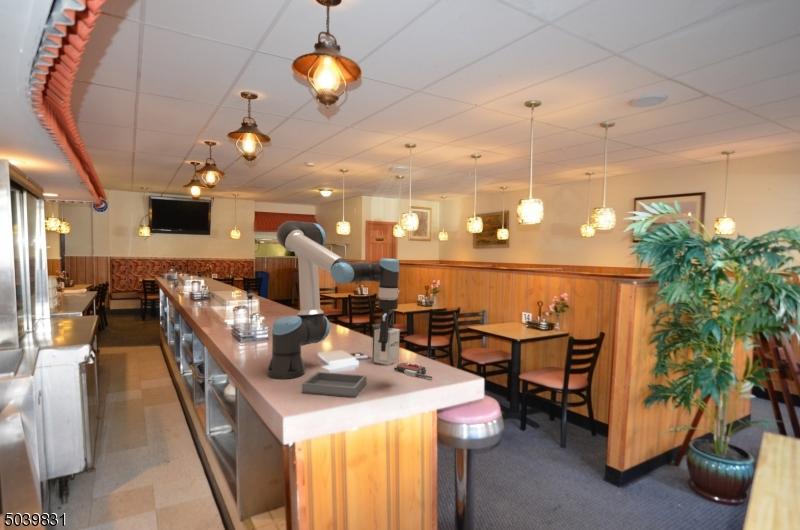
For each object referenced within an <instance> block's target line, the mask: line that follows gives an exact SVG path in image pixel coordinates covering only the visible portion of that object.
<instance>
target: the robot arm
mask: <svg viewBox="0 0 800 530" xmlns="http://www.w3.org/2000/svg"><path fill="white" fill-rule="evenodd" d="M326 238H327V237H326V231H325V229H324V228H323V227H322V226H321V225H320V224H318V223H315V222H311V221H310V222H308V221H298V220H297V221H296V220H287V221H285V222H283V223H282V224H280V225H279V227H278V228H277V231H276V240H277V242H278V243H279V244H280V246H282V247H283V248H284V249H286V250H288V251H289V252H294V254H295V255H296V256H297V258H298V260H297V261H298V263H297V264H298V280H299V302H300V305H299V306H300V307H299V308H300V310H299V311H298V312H297V314H296V315H290V316H283V317H280V318H276V320H274V321H273V323H272V331H271V333H272V335H271V336H272V343H271V344H272V346H271V347H272V351H271V352H272V353H271V354H272V355H271V358H270V361H269V365H268V368H267V376H268V377H269V378H271V379H272V378H273V379H277V380H280V379H281V380H286V379H287V380H288V379H295V378H298V377H301V376H303V375H305V374H306V366H305V363H304V361H303V357H302V346H303V347H304V346H306V345H310V344H317V343H319V342H323V341H324V340H325V339H326V338H327V337H328V336H329V334H330V329H331V324H330V321H329V319H328V318H327V316H325V311H323V309H321V300H320V298H321V296H320V281H319V280H320V279H319V278H320V276H319V268H321V269H322V270H324V271H326V272H327V273H329V274H330V276H331V278H332V280H333V282H335V283H338V284H350V283H362V282H363V283H365V282H370V283H371V282H372V283H374V282H375V283H378V298H379V299H378V300H377V301H378V303H377V304H378V307H377V308H378V309H379V310H383V311H382V313H381V315H380V321H381V325H380V337H379V340H378V342H380V360H387V351H388V342H387V338H388V331H389V328H394V329H395V327H394V326H395V311H394V310H398V307H399V299H398V298H399V294H400V292H401V291H400V290H399V278H400V261H399V259H398V258H385V257H384V258H380V260H379V262H369V261H359V262H351V261H348V260H347V259H345V258H343V257H342V256H340V255H338V254H337V253H336V252H335V253H334V252H333V251H332V250H330V249H328V248H327V247H325V246H324V245H325V243H326ZM382 338H383V339H382Z"/></svg>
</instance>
